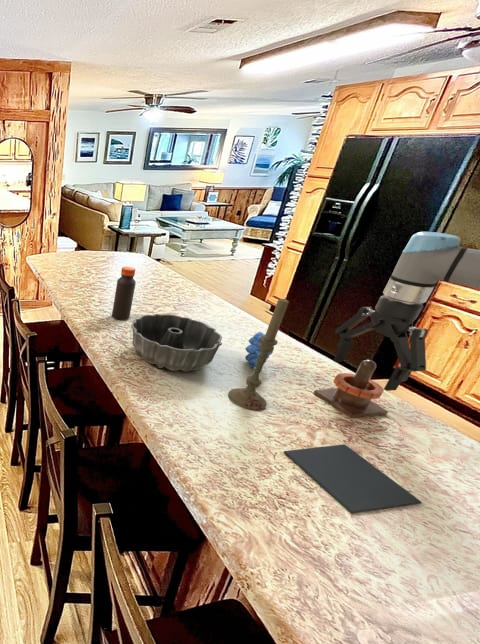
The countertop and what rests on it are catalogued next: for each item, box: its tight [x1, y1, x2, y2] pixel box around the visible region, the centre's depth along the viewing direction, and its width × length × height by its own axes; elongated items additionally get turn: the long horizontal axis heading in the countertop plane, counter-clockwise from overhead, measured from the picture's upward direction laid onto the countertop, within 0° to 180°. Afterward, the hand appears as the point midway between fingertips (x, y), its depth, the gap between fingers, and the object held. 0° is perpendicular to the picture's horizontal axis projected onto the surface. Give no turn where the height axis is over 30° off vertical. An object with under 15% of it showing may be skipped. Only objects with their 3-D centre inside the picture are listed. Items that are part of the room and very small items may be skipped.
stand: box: [313, 359, 389, 419], centre depth 102 cm, size 11×11×14 cm
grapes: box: [244, 331, 274, 369], centre depth 118 cm, size 12×7×12 cm, turn 166°
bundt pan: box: [130, 313, 223, 373], centre depth 123 cm, size 26×26×10 cm
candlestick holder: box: [227, 297, 290, 411], centre depth 98 cm, size 9×9×30 cm
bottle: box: [111, 266, 136, 321], centre depth 149 cm, size 7×7×20 cm
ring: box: [333, 372, 385, 400], centre depth 102 cm, size 10×10×2 cm
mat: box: [283, 444, 422, 514], centre depth 81 cm, size 16×16×1 cm
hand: (362, 374), depth 101 cm, fingers open, 13 cm apart
